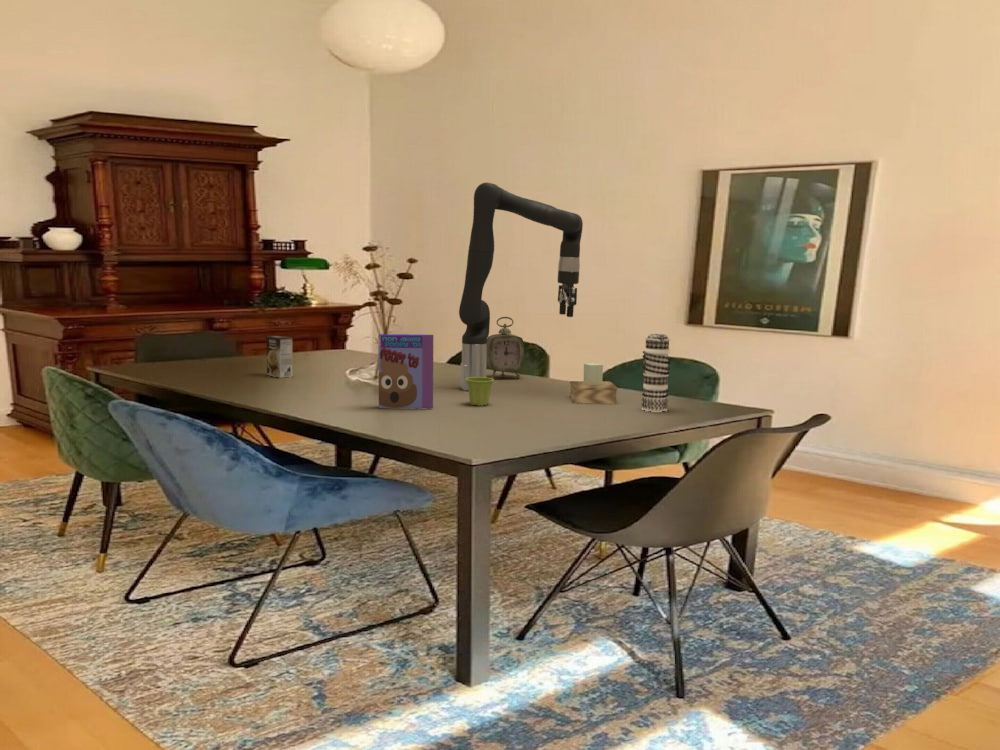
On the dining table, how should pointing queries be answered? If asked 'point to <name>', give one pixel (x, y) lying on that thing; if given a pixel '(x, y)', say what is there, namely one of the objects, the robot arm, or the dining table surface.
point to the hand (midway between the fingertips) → (566, 315)
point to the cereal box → (405, 371)
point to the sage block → (593, 374)
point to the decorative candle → (656, 373)
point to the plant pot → (479, 390)
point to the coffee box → (279, 356)
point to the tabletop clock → (505, 351)
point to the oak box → (593, 392)
